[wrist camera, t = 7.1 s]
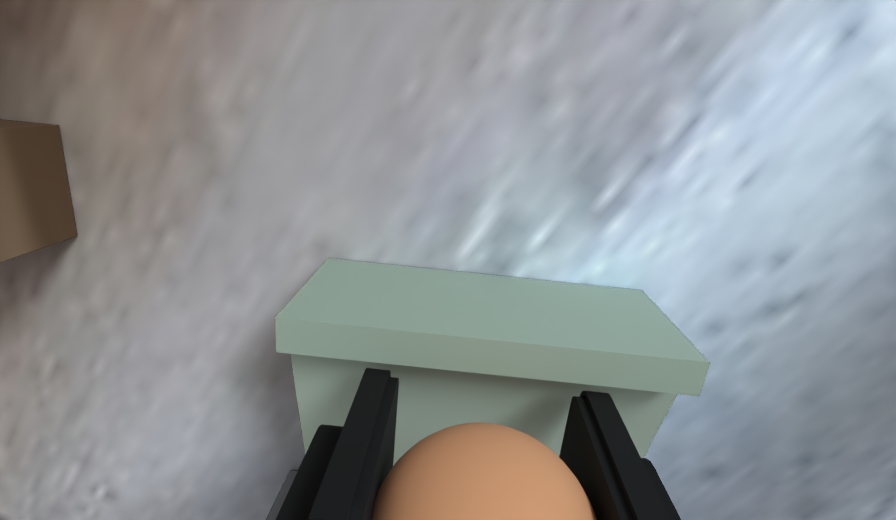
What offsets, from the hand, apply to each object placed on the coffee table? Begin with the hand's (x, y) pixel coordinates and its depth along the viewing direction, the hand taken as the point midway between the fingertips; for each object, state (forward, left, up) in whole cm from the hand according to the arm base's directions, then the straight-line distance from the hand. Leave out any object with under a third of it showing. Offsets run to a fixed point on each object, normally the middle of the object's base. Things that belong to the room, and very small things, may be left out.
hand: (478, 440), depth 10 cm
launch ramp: (0, +2, -4) cm, 4 cm away
